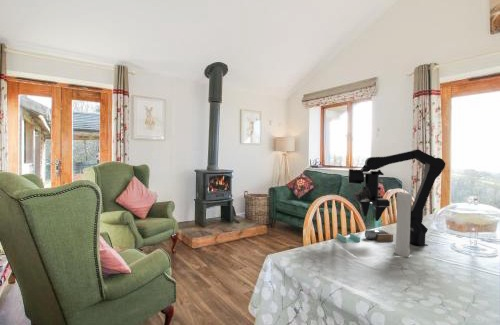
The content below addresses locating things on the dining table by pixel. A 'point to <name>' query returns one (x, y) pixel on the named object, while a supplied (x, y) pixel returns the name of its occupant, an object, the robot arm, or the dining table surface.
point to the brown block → (384, 237)
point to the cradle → (349, 238)
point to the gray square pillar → (403, 223)
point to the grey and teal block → (373, 233)
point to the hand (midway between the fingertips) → (370, 218)
